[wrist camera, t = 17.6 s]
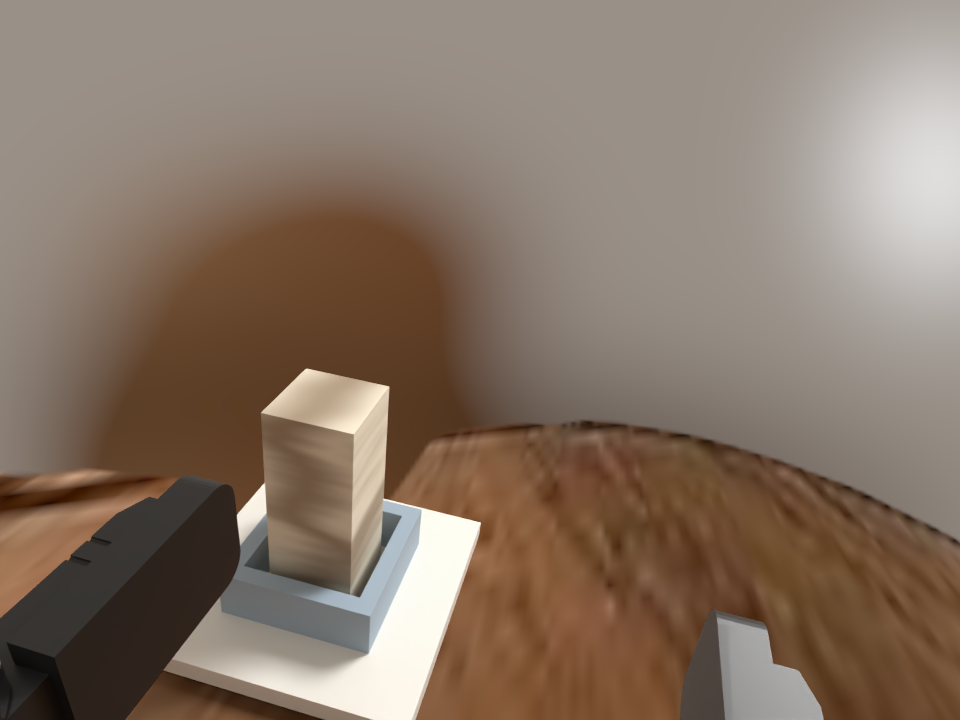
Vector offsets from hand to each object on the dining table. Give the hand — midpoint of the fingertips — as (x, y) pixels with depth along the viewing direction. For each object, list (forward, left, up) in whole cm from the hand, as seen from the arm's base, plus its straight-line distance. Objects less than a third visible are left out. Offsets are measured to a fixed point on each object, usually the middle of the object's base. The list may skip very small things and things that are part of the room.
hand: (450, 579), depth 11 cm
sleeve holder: (-2, -23, -25) cm, 34 cm away
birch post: (-2, -23, -24) cm, 33 cm away
